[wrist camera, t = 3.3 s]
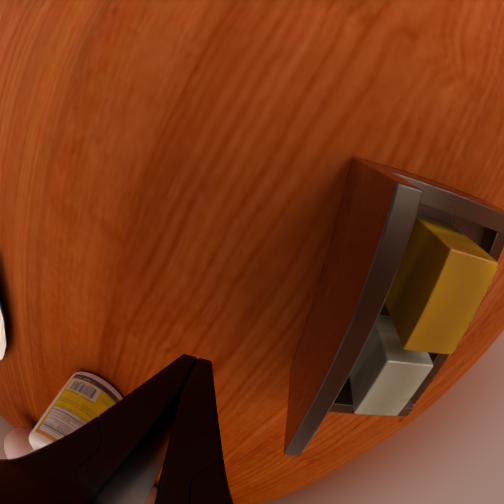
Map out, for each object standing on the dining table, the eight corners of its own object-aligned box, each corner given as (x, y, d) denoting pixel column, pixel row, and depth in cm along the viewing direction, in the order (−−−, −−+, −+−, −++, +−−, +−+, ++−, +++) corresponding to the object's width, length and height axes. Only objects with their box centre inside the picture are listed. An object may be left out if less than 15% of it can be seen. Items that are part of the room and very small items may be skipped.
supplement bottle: (103, 413, 23) (58, 494, 14) (64, 371, 21) (5, 452, 12) (141, 410, 21) (93, 509, 12) (97, 363, 20) (30, 463, 10)
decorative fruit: (18, 403, 29) (-14, 448, 20) (62, 436, 29) (32, 486, 20) (26, 426, 33) (0, 464, 24) (65, 453, 33) (41, 495, 24)
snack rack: (492, 204, 11) (568, 252, 6) (407, 381, 16) (428, 457, 11) (352, 155, 12) (397, 181, 6) (290, 367, 17) (283, 454, 11)
